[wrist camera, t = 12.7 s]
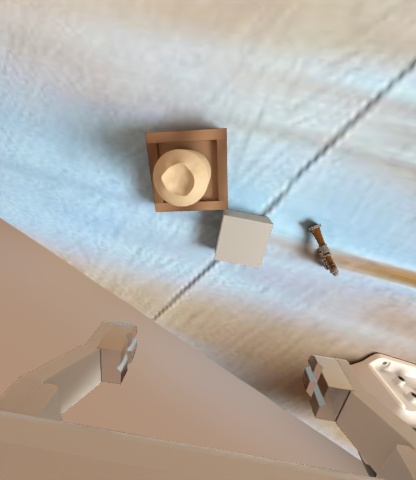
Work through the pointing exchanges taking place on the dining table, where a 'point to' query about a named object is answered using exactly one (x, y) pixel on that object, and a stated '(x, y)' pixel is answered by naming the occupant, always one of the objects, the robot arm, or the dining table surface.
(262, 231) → the grey block
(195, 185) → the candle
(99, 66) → the dining table surface
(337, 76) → the dining table surface
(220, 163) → the square wooden tray
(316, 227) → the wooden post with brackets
